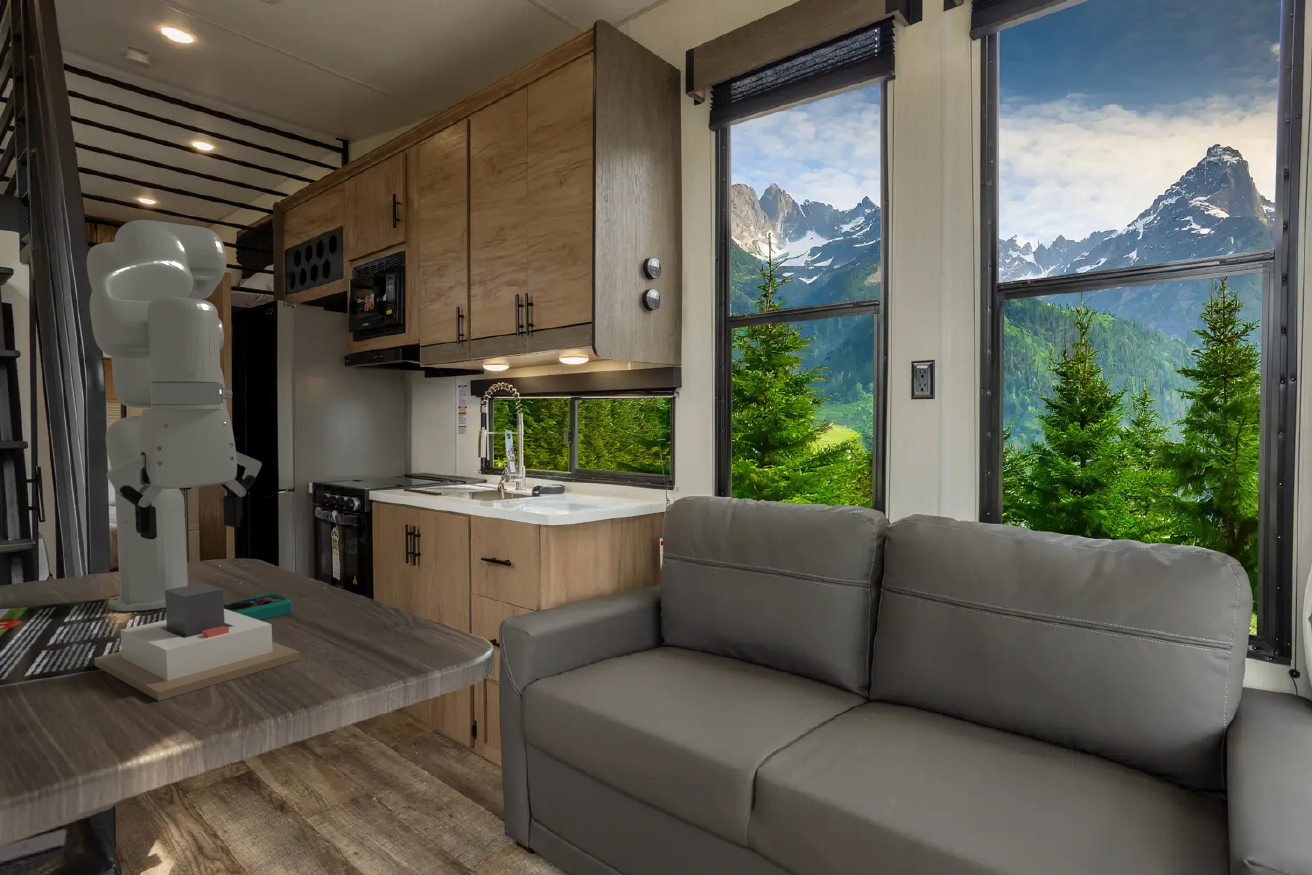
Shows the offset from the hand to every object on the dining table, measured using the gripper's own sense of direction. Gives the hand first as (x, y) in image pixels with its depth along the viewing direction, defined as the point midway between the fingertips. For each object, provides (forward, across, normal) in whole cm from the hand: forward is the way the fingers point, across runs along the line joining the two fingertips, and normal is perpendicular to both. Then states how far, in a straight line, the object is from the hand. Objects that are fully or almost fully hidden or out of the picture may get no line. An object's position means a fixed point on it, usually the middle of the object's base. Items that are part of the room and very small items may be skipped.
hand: (192, 531), depth 93 cm
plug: (+16, 0, +1) cm, 16 cm away
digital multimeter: (+18, -12, -16) cm, 26 cm away
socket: (+17, 0, +1) cm, 17 cm away
